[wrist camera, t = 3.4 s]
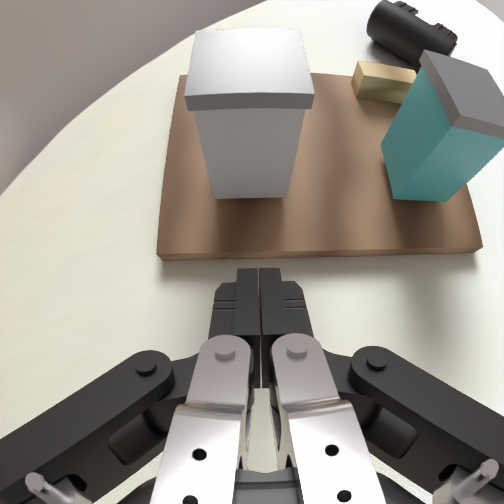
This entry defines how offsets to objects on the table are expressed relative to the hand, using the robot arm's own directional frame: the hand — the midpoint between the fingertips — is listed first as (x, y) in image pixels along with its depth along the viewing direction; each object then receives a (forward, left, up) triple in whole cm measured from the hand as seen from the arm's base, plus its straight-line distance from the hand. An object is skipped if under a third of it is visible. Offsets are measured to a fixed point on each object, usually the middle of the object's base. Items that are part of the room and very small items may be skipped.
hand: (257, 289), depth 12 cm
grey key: (0, +10, -8) cm, 13 cm away
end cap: (+20, +30, -11) cm, 38 cm away
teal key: (+13, +10, -8) cm, 18 cm away
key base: (+6, +13, -10) cm, 18 cm away
